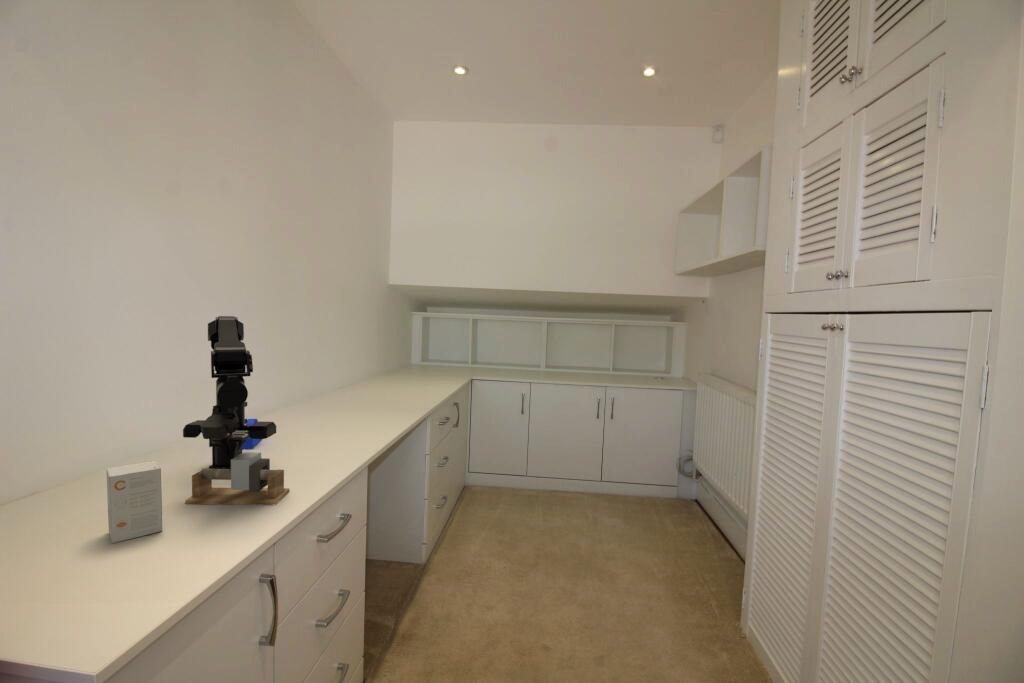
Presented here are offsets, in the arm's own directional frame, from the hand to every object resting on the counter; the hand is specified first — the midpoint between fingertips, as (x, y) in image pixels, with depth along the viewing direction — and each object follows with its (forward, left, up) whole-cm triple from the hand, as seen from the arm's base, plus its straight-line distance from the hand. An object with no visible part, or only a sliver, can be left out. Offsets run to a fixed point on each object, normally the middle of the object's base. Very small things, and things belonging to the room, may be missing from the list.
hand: (231, 465), depth 115 cm
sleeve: (+3, 0, -5) cm, 6 cm away
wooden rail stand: (+2, 0, -8) cm, 8 cm away
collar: (+7, 0, -5) cm, 8 cm away
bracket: (-19, +47, -8) cm, 51 cm away
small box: (-9, -18, -8) cm, 22 cm away
